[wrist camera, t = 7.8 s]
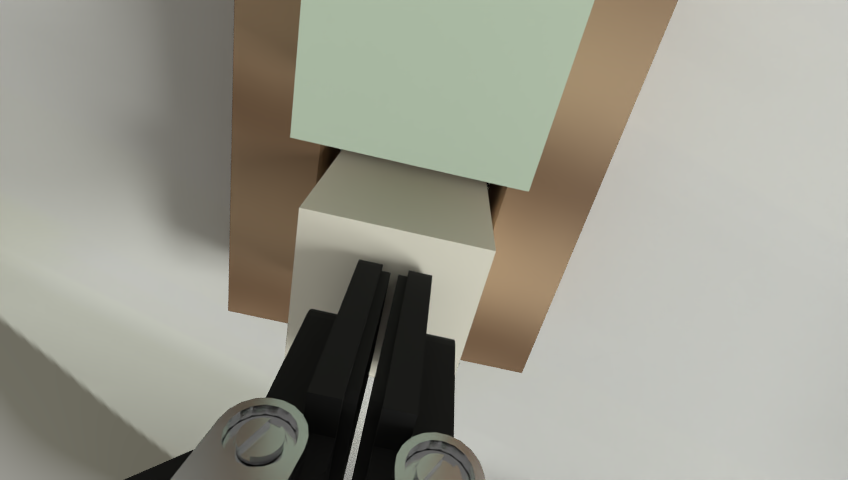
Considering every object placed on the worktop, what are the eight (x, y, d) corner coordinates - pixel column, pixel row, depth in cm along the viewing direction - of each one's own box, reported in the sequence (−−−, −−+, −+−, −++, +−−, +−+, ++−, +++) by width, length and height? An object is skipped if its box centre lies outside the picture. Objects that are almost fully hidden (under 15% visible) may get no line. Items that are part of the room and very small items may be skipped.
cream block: (452, 284, 16) (449, 392, 12) (332, 258, 16) (284, 358, 12) (484, 171, 14) (495, 251, 10) (349, 140, 14) (298, 207, 10)
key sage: (504, 121, 13) (528, 191, 8) (350, 85, 12) (289, 137, 8) (558, -61, 11) (627, -96, 6) (376, -106, 11) (315, -176, 6)
